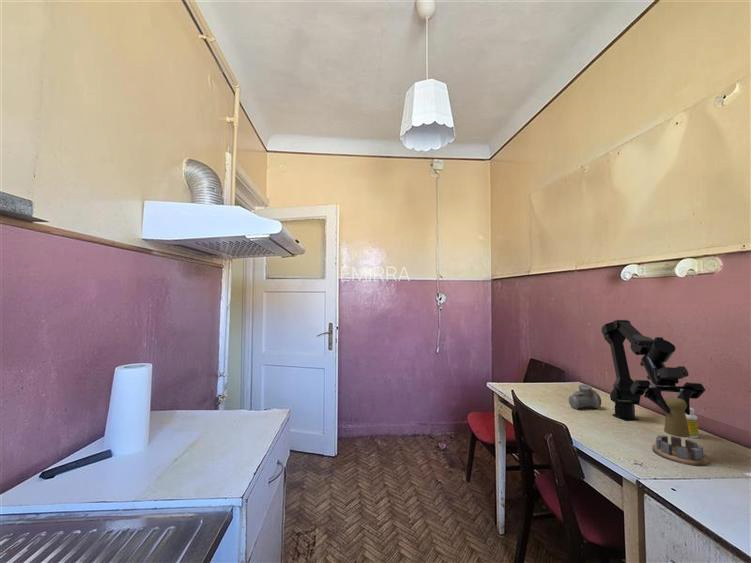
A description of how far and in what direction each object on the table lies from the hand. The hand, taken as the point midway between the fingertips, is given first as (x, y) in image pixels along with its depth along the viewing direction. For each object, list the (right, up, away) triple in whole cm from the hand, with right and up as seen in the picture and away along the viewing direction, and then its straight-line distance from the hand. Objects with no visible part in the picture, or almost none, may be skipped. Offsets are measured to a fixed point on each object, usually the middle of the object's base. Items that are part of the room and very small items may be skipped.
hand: (678, 413), depth 103 cm
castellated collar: (+1, -13, 0) cm, 13 cm away
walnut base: (+1, -13, 0) cm, 13 cm away
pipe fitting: (-1, -16, +46) cm, 49 cm away
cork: (0, -7, +1) cm, 7 cm away
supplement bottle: (+18, -14, +16) cm, 28 cm away
